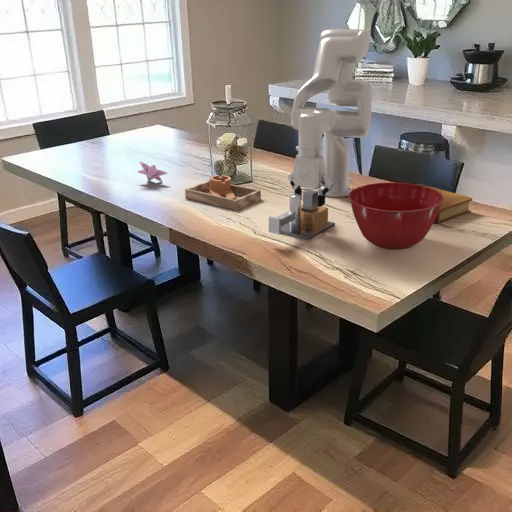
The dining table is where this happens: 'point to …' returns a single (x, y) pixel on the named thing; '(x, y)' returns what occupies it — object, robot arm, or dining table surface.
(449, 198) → the diary
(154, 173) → the lily
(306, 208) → the grey rectangular block
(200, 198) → the wooden tray
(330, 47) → the robot arm
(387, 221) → the mixing bowl
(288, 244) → the dining table surface
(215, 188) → the bracket
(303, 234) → the grey stepped fixture
